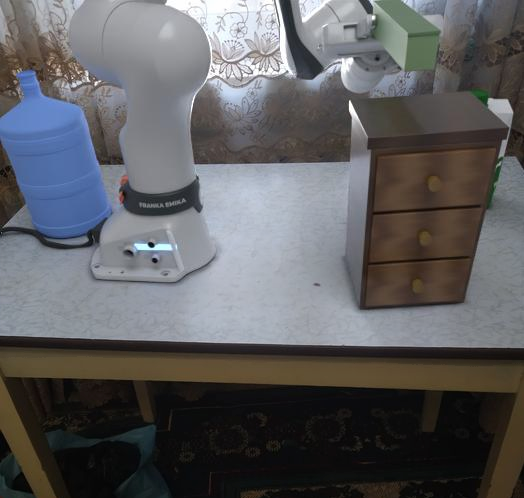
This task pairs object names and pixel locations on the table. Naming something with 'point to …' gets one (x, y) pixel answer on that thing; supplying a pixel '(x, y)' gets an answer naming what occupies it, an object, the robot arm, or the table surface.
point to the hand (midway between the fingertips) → (390, 17)
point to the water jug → (54, 162)
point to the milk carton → (505, 114)
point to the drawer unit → (418, 195)
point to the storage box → (406, 35)
